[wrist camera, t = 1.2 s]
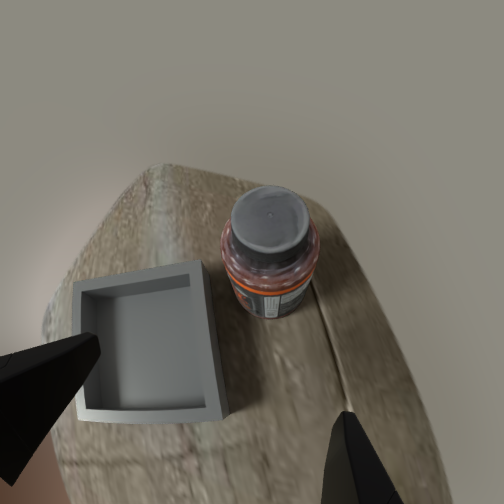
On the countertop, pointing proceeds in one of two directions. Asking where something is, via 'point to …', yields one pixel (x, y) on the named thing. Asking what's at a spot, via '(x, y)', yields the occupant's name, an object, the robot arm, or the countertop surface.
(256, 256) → the supplement bottle
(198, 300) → the tray
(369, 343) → the countertop surface
